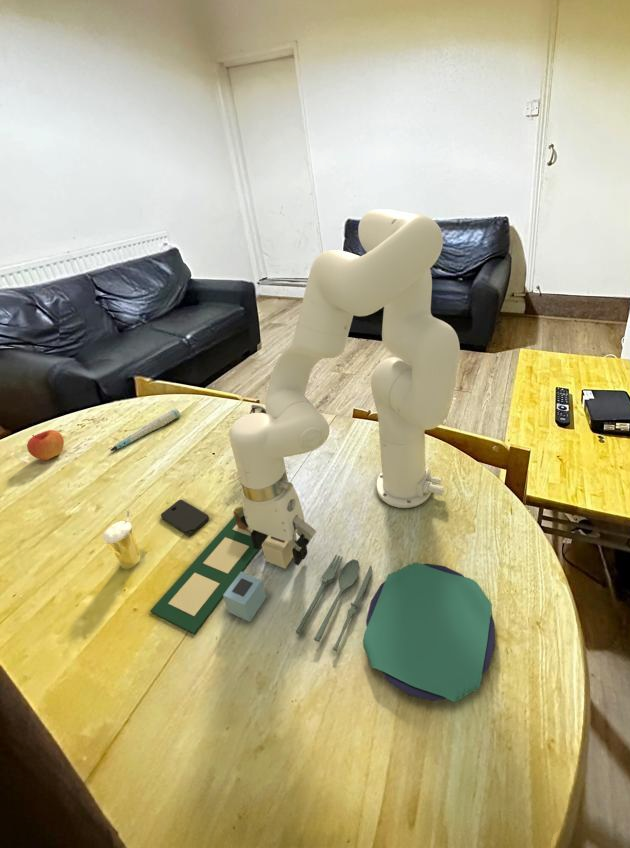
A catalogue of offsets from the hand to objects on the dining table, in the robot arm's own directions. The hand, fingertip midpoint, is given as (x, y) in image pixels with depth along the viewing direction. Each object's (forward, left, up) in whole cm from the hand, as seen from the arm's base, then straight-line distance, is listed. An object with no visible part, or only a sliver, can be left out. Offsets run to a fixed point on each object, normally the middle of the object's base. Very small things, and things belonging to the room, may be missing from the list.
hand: (280, 550), depth 78 cm
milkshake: (+27, +11, -2) cm, 29 cm away
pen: (+59, -19, -2) cm, 62 cm away
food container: (+23, -24, -2) cm, 33 cm away
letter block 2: (0, 0, -1) cm, 1 cm away
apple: (+76, -3, -2) cm, 76 cm away
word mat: (+10, +4, -1) cm, 11 cm away
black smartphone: (+25, 0, -1) cm, 25 cm away
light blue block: (0, +10, -1) cm, 10 cm away
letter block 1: (+10, -4, -1) cm, 11 cm away
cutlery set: (-25, +3, -2) cm, 25 cm away
